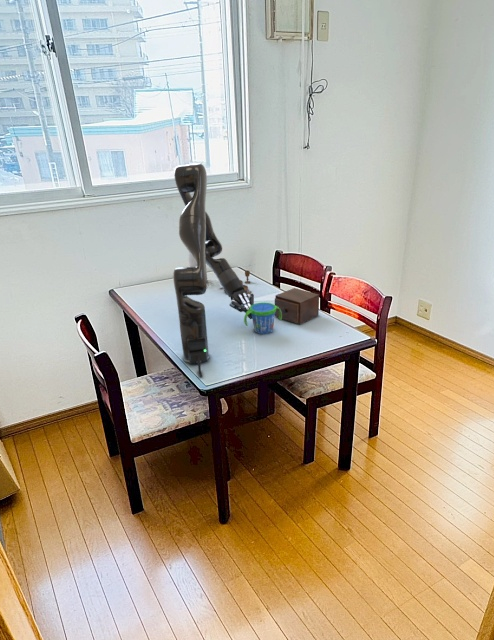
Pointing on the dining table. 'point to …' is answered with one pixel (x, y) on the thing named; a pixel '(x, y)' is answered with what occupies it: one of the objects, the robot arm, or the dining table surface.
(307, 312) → the cabinet
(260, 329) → the snack cup
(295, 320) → the drawer
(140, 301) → the dining table surface
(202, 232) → the robot arm
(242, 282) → the place setting
